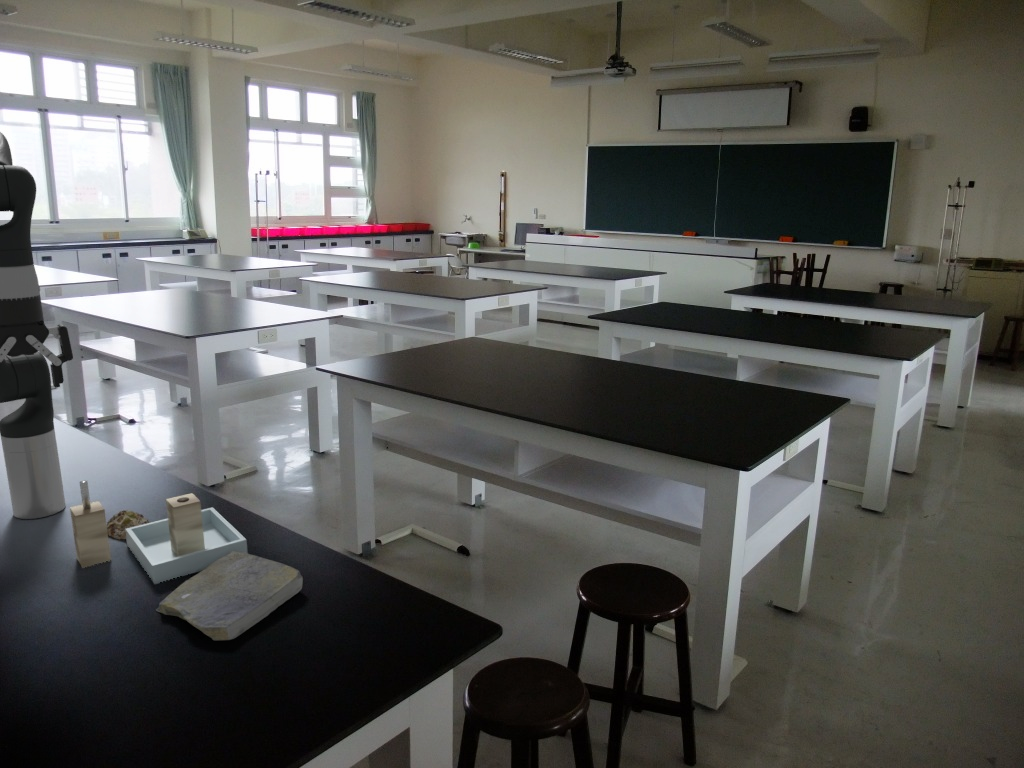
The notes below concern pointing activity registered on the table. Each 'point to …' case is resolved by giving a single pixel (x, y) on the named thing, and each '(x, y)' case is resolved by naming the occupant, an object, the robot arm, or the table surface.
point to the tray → (164, 565)
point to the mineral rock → (124, 523)
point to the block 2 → (185, 524)
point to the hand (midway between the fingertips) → (27, 390)
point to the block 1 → (90, 530)
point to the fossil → (232, 594)
